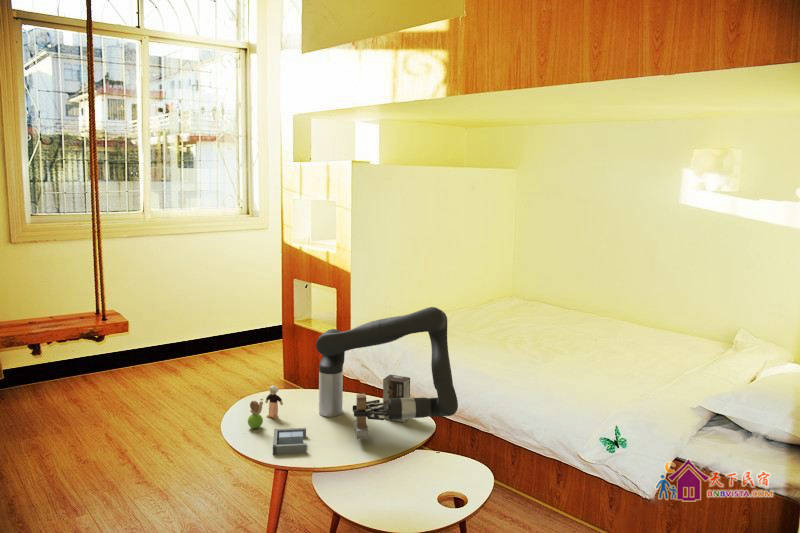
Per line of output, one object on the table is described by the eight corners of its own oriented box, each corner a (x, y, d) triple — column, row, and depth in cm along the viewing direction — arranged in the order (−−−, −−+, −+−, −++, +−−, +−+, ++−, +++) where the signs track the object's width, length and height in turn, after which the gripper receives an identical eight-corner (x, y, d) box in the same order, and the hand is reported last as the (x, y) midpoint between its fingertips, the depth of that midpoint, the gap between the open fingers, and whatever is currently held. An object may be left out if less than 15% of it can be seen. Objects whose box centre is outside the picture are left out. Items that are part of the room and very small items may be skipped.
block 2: (291, 442, 216) (291, 432, 215) (302, 442, 216) (302, 431, 216) (291, 447, 212) (291, 436, 211) (303, 447, 213) (302, 436, 212)
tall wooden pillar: (354, 428, 222) (354, 391, 220) (365, 428, 222) (365, 391, 220) (356, 439, 213) (356, 400, 211) (368, 438, 213) (368, 400, 211)
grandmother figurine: (262, 418, 237) (262, 386, 235) (266, 414, 241) (265, 383, 239) (281, 419, 236) (281, 388, 234) (285, 416, 239) (284, 384, 238)
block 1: (279, 443, 215) (279, 432, 214) (291, 442, 216) (290, 432, 215) (279, 448, 211) (279, 437, 211) (290, 447, 212) (290, 436, 211)
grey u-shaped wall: (274, 437, 220) (274, 429, 219) (306, 435, 222) (305, 427, 221) (272, 455, 206) (272, 446, 205) (306, 453, 208) (306, 444, 207)
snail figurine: (257, 432, 223) (256, 401, 222) (244, 428, 227) (244, 397, 225) (267, 427, 228) (267, 396, 226) (255, 423, 231) (255, 393, 230)
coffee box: (410, 417, 241) (411, 377, 239) (403, 422, 235) (404, 382, 233) (389, 412, 245) (389, 373, 243) (382, 418, 239) (382, 378, 237)
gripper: (398, 391, 225) (351, 393, 222) (405, 405, 211) (355, 408, 208) (398, 411, 226) (351, 413, 223) (404, 426, 212) (355, 429, 209)
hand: (353, 411), depth 216 cm, fingers closed on tall wooden pillar, 4 cm apart
